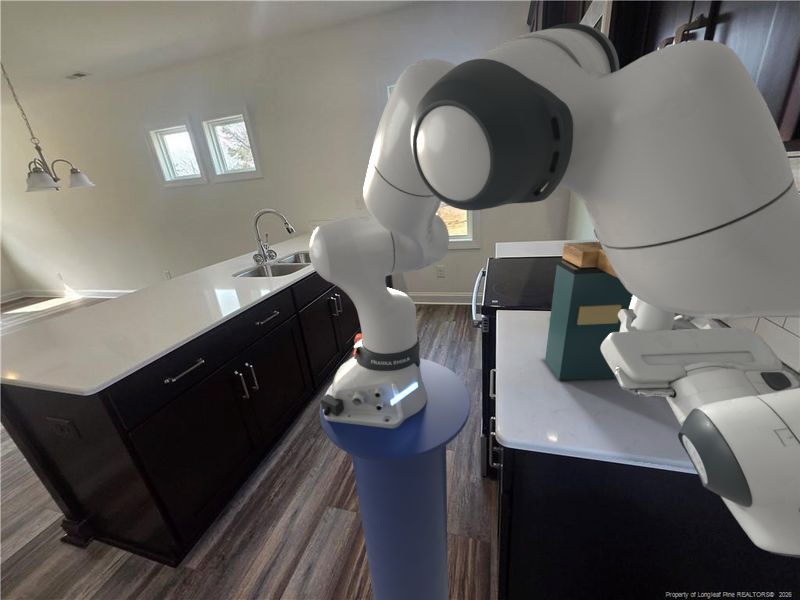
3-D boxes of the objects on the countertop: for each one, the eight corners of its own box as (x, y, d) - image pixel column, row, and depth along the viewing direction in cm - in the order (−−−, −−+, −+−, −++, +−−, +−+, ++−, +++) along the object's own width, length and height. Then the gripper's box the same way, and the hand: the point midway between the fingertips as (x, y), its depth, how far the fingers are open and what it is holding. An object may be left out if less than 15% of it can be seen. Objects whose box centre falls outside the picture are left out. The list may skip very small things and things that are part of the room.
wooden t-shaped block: (612, 286, 52) (617, 263, 50) (561, 259, 69) (564, 241, 68) (675, 283, 51) (682, 259, 50) (608, 256, 69) (612, 238, 67)
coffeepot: (591, 316, 100) (602, 258, 93) (687, 321, 93) (705, 258, 86) (602, 331, 90) (614, 268, 84) (709, 338, 84) (732, 270, 77)
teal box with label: (558, 381, 71) (574, 269, 61) (543, 360, 79) (555, 258, 69) (616, 379, 70) (642, 266, 61) (594, 358, 78) (614, 255, 69)
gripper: (615, 406, 44) (579, 323, 52) (770, 402, 43) (708, 318, 51) (639, 388, 39) (595, 300, 47) (815, 383, 38) (738, 294, 47)
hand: (655, 309), depth 49 cm, fingers open, 8 cm apart
